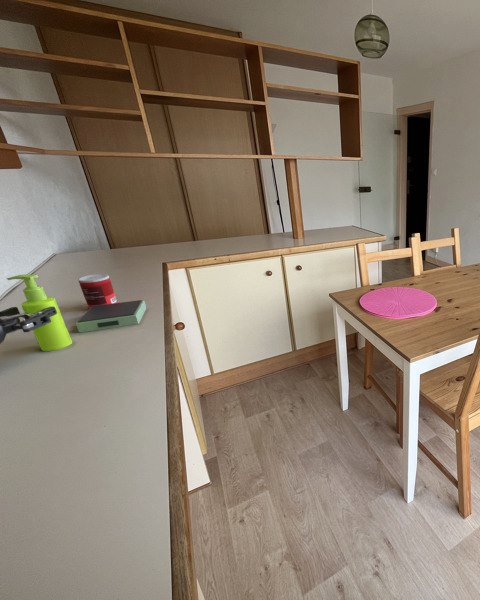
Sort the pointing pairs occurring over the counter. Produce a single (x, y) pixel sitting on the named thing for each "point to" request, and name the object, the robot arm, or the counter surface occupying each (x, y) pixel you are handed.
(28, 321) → the robot arm
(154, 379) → the counter surface
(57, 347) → the soap dispenser
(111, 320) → the scale
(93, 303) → the canned food
